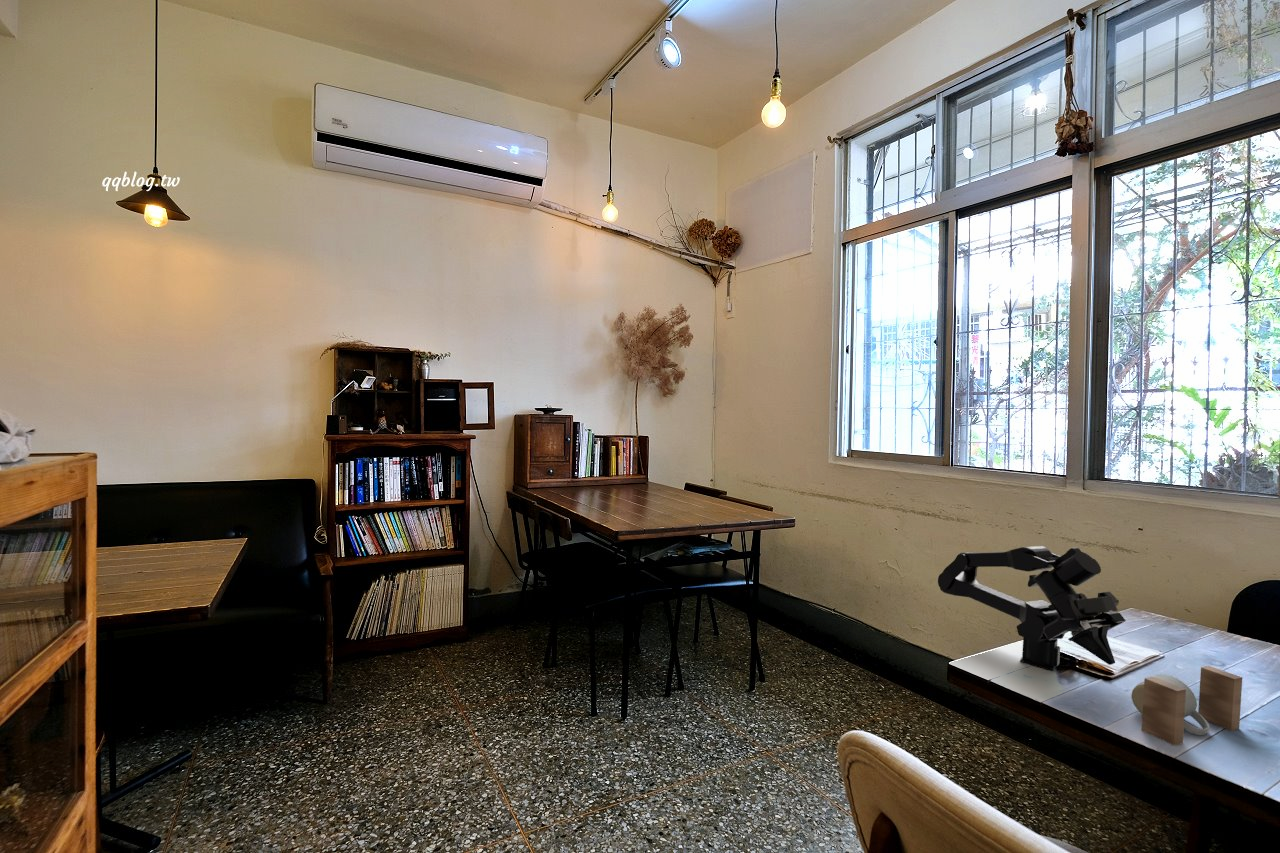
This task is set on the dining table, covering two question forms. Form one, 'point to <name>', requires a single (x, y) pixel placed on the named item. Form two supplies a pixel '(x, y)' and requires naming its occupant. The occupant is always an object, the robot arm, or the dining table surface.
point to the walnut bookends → (1169, 704)
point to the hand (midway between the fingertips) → (1112, 663)
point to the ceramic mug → (1189, 703)
